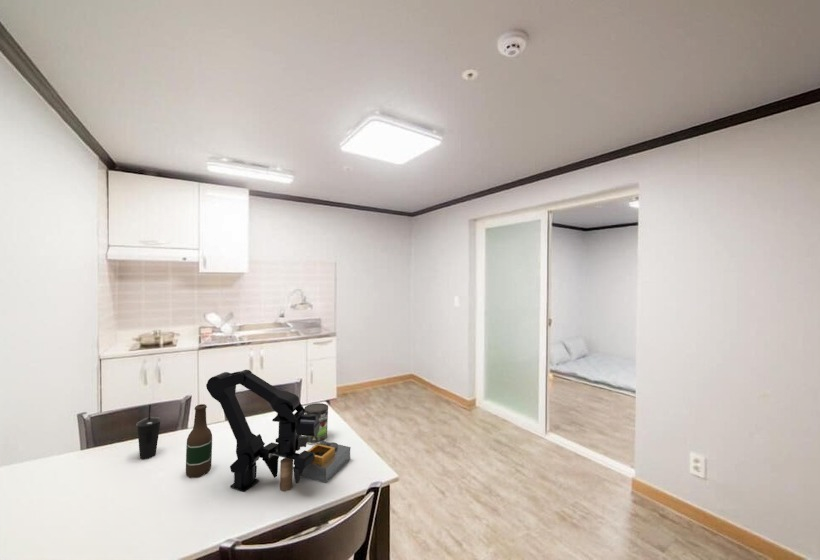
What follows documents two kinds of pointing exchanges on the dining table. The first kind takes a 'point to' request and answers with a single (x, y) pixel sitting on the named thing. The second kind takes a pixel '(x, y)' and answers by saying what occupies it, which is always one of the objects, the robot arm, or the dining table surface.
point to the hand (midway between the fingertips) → (286, 480)
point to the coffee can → (323, 419)
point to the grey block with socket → (326, 461)
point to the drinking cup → (148, 435)
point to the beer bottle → (199, 445)
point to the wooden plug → (286, 474)
